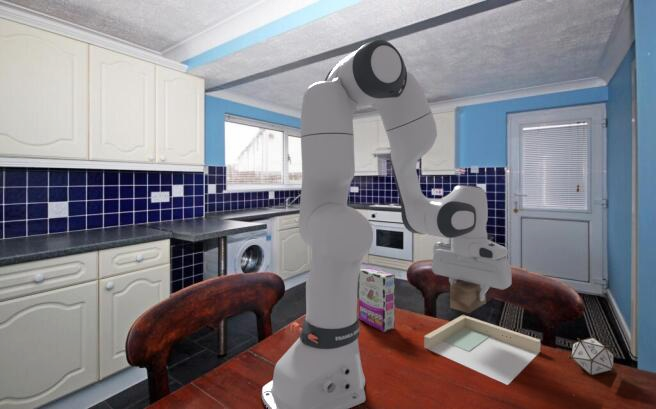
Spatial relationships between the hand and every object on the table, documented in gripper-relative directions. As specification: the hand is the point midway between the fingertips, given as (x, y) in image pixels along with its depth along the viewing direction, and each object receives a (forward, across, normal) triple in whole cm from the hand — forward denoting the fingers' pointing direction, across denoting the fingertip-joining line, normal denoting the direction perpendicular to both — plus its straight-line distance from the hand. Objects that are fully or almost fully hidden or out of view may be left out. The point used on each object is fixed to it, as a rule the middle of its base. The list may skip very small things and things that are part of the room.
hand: (468, 296), depth 85 cm
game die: (+13, +25, +7) cm, 29 cm away
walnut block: (+2, 0, 0) cm, 2 cm away
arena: (+12, +5, -3) cm, 14 cm away
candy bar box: (+12, -23, -11) cm, 29 cm away
